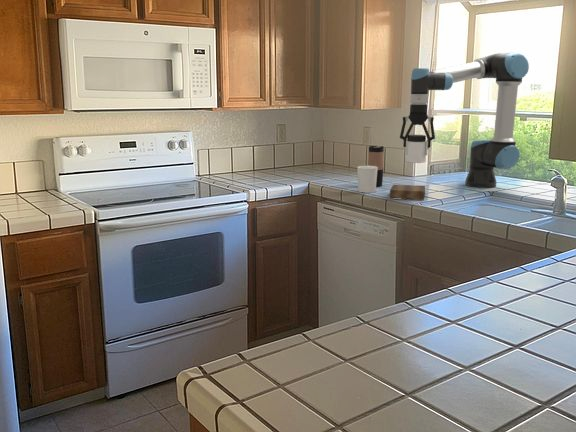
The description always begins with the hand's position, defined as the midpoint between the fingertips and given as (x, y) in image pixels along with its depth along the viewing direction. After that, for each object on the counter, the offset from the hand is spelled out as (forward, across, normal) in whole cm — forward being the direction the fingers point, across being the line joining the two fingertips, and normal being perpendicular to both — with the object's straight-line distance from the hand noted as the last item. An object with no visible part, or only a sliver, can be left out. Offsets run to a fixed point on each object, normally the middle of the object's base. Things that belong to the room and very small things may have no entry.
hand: (416, 154), depth 270 cm
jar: (+3, 0, 0) cm, 3 cm away
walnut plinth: (+20, -3, +1) cm, 20 cm away
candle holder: (+20, -23, +9) cm, 32 cm away
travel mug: (+20, -21, +26) cm, 39 cm away
